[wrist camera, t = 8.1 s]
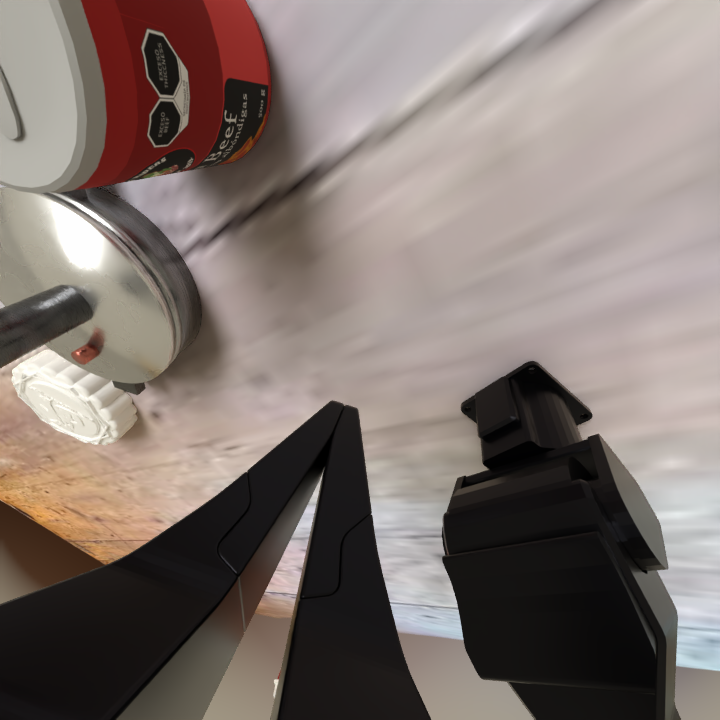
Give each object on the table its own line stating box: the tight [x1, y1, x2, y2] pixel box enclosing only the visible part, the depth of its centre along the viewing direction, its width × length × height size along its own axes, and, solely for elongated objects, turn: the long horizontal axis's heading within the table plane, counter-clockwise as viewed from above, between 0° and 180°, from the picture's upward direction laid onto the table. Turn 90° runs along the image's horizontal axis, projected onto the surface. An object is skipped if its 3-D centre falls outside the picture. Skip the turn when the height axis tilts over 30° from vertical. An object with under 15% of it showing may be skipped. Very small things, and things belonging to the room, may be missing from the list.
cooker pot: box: [48, 187, 201, 395], centre depth 25 cm, size 14×20×3 cm
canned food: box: [0, 0, 271, 194], centre depth 12 cm, size 8×8×11 cm
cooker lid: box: [0, 187, 176, 383], centre depth 20 cm, size 15×15×9 cm
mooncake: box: [12, 350, 137, 445], centre depth 36 cm, size 12×12×4 cm
